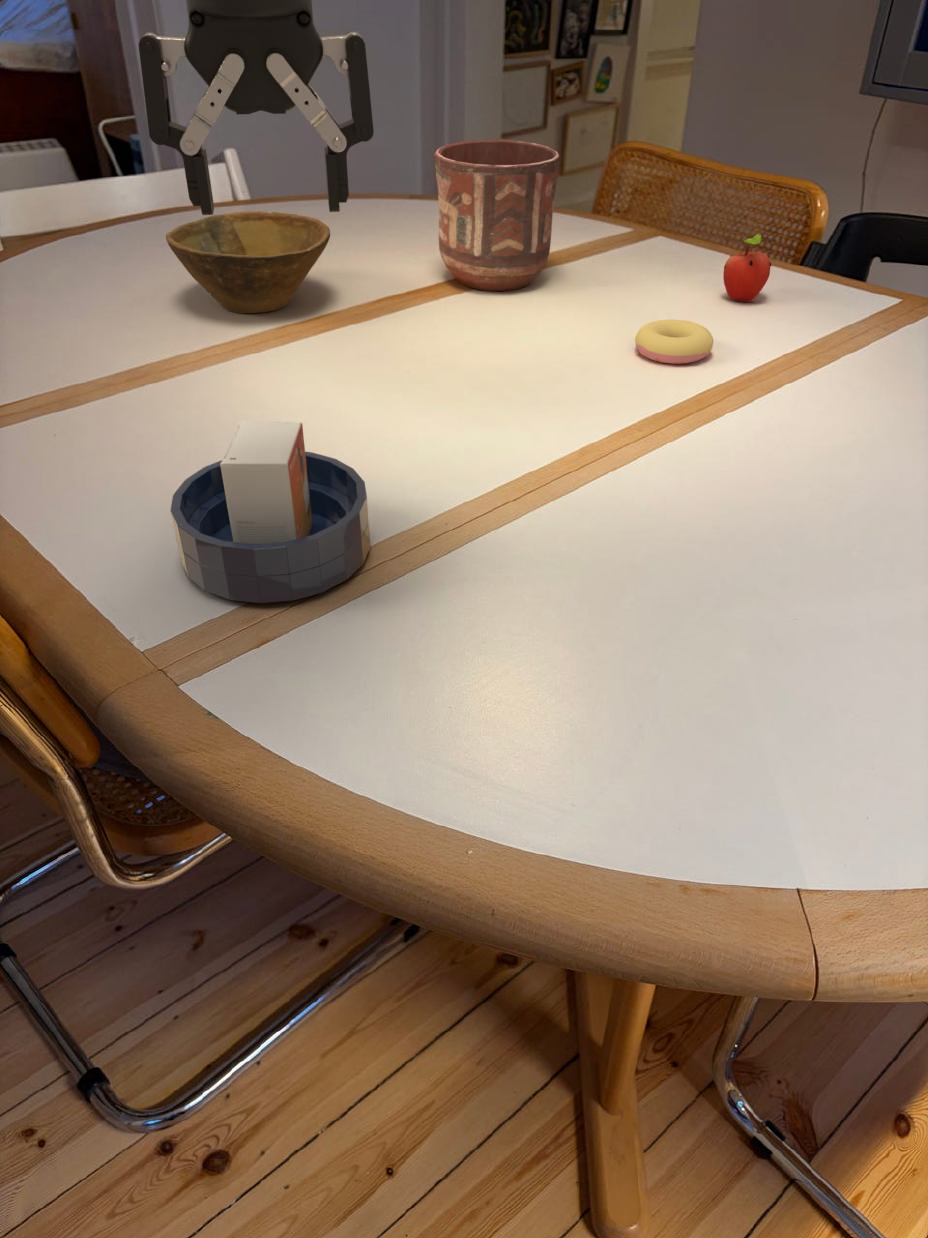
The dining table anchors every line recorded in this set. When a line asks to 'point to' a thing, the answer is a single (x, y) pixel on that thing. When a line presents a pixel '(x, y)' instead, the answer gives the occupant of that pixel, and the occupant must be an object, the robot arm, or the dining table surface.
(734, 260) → the apple
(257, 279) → the bowl
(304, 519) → the small box
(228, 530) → the glazed bowl
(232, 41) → the robot arm
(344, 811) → the dining table surface
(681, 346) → the donut
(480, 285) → the pottery
